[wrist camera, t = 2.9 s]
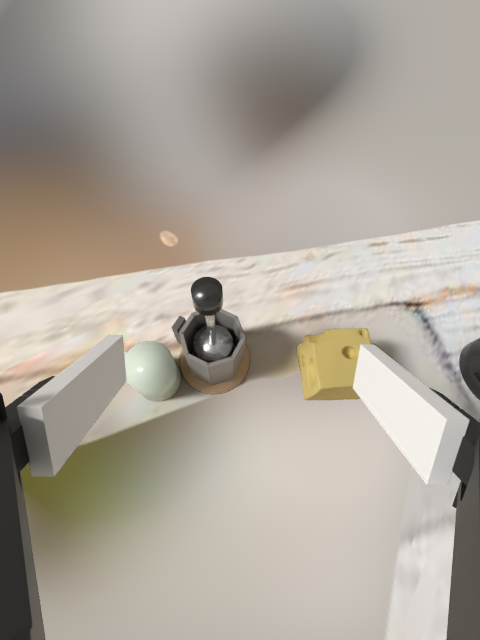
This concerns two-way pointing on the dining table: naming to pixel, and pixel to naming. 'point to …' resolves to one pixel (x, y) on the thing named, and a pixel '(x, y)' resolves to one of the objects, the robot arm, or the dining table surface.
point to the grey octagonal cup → (220, 372)
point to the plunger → (210, 321)
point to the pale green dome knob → (152, 371)
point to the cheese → (330, 363)
